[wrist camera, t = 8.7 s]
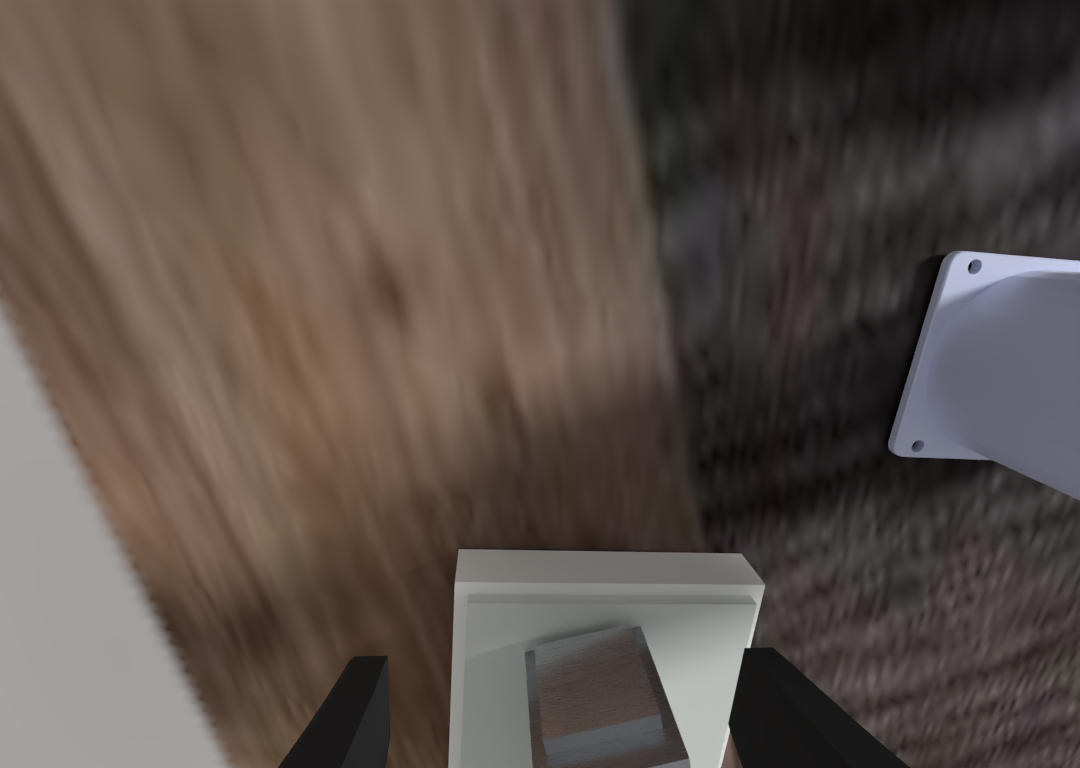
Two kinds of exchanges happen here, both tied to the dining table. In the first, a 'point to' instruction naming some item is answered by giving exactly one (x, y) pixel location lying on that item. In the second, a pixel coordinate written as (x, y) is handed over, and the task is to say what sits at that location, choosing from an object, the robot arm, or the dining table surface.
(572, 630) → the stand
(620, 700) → the block
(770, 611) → the dining table surface
